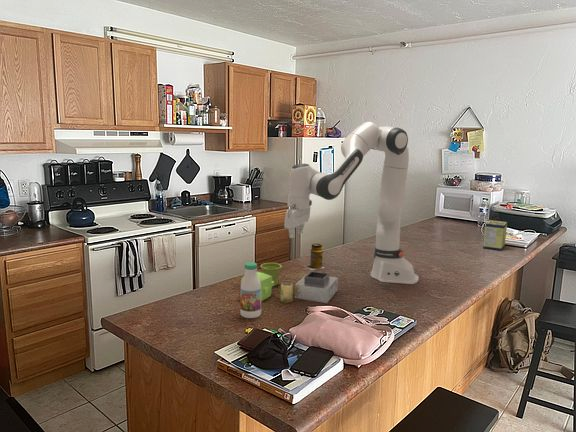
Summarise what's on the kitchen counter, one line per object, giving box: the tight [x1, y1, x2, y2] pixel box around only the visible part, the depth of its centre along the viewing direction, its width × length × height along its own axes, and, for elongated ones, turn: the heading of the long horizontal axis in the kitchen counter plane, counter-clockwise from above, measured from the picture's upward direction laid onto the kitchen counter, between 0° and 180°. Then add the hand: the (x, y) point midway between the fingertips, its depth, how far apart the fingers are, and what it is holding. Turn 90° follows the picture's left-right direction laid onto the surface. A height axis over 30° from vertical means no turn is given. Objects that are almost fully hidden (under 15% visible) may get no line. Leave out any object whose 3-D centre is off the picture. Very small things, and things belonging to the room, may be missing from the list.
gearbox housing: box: [294, 270, 339, 304], centre depth 193 cm, size 14×16×8 cm
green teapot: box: [240, 271, 275, 302], centre depth 187 cm, size 18×10×10 cm, turn 148°
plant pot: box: [260, 262, 282, 287], centre depth 205 cm, size 9×9×9 cm
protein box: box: [482, 219, 508, 252], centre depth 279 cm, size 10×16×16 cm
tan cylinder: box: [280, 281, 294, 304], centre depth 185 cm, size 5×5×8 cm
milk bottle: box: [239, 261, 262, 319], centre depth 169 cm, size 8×8×20 cm
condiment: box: [303, 243, 326, 271], centre depth 231 cm, size 7×8×12 cm
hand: (296, 235), depth 191 cm, fingers open, 8 cm apart
